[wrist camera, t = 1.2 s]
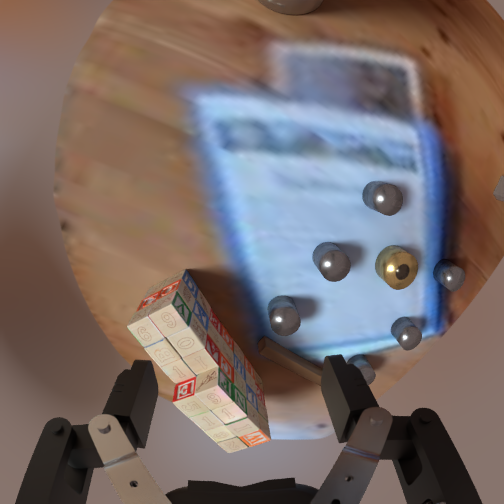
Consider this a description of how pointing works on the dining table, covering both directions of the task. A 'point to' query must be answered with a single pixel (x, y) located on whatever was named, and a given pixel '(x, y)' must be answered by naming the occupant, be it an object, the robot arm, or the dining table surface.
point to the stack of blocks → (202, 363)
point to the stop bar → (289, 360)
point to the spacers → (338, 266)
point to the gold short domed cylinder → (396, 267)
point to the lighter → (499, 190)
